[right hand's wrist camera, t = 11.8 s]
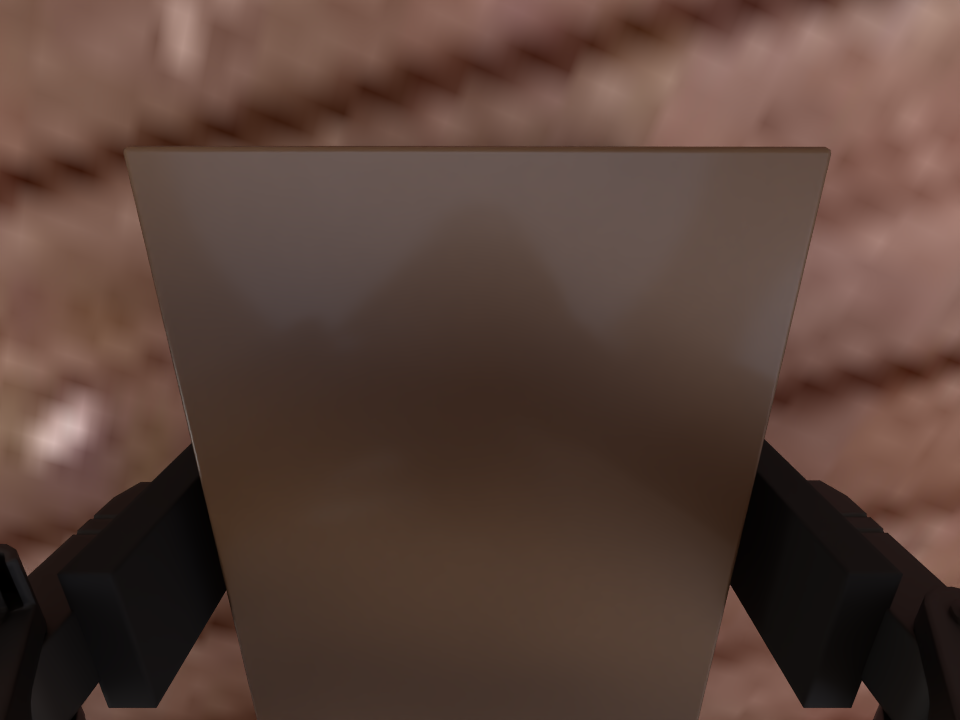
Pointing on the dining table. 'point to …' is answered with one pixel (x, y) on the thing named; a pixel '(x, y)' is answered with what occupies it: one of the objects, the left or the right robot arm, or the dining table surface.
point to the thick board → (477, 410)
